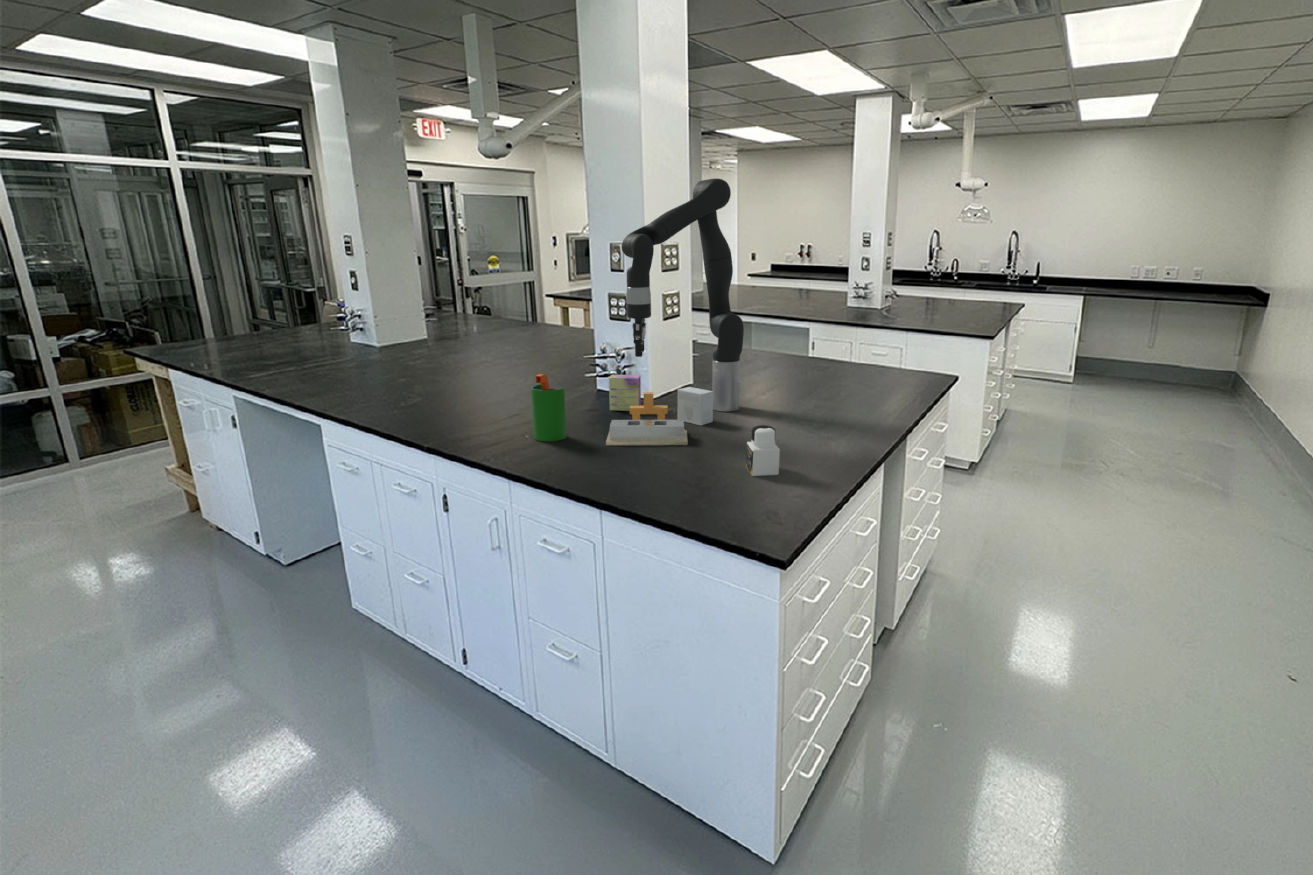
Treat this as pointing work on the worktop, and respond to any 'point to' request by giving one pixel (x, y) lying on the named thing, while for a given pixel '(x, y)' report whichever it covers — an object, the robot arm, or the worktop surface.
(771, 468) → the medicine bottle
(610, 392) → the box
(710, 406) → the skincare box
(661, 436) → the slotted grey base block
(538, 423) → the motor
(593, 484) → the worktop surface
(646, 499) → the worktop surface
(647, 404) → the clip
